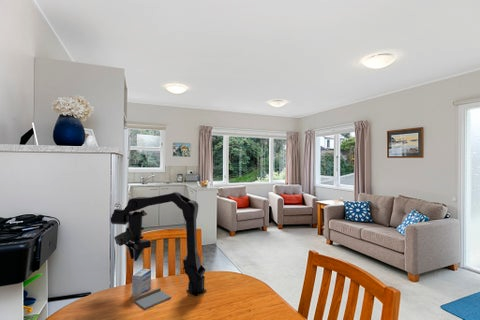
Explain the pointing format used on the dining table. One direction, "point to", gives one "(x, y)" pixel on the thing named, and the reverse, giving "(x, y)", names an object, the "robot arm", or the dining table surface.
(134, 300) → the mat
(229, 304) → the dining table surface
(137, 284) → the medicine box
